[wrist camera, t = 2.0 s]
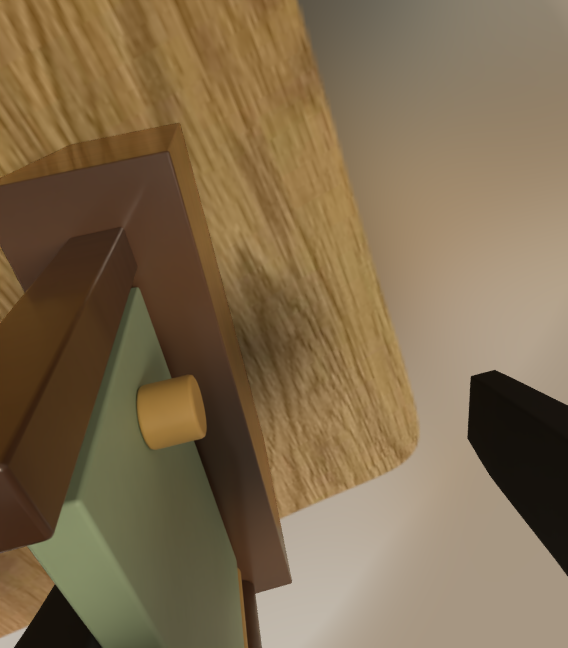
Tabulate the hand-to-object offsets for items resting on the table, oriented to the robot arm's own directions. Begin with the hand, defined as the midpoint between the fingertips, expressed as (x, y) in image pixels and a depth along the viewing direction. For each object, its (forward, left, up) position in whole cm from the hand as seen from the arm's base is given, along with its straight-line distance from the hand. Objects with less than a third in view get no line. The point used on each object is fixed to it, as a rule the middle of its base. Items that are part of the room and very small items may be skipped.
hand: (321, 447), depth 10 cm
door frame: (-1, +4, -10) cm, 11 cm away
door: (-2, +3, -2) cm, 4 cm away
